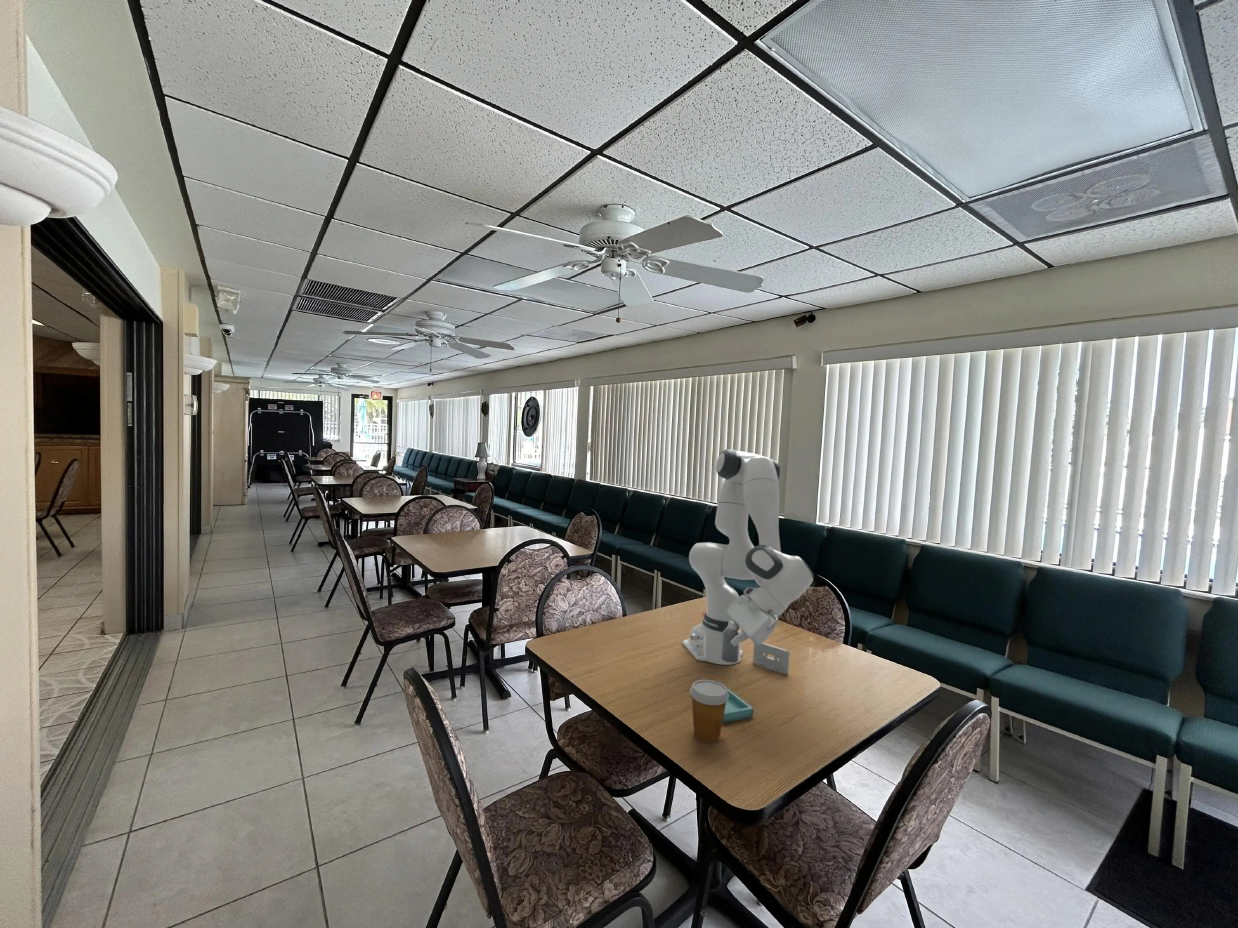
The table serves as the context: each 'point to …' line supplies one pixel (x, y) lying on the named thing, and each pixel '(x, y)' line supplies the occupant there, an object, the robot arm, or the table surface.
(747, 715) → the tray
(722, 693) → the disposable coffee cup
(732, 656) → the gray bottle
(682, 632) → the table surface
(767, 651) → the cassette
